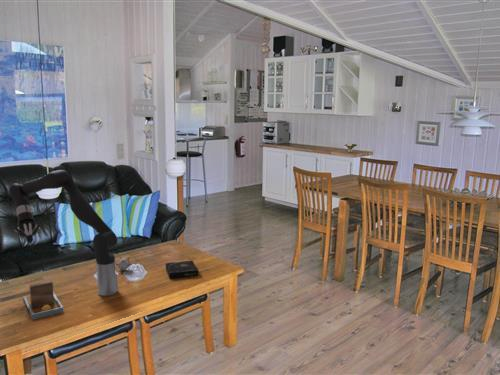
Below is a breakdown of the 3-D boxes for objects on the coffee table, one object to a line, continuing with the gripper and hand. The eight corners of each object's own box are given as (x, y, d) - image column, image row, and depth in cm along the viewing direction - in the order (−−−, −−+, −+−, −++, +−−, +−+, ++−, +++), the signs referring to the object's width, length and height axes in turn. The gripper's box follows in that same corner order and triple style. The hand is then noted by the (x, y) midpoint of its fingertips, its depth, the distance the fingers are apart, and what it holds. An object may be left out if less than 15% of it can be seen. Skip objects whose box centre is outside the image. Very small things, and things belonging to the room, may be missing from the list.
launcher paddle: (31, 305, 219) (29, 284, 217) (52, 300, 225) (51, 280, 222) (32, 308, 217) (30, 286, 214) (54, 302, 222) (52, 282, 220)
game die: (125, 277, 264) (121, 269, 257) (115, 270, 268) (111, 261, 260) (136, 267, 269) (132, 258, 261) (126, 260, 272) (123, 251, 265)
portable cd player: (192, 266, 275) (192, 260, 274) (197, 276, 259) (197, 270, 258) (165, 269, 269) (165, 262, 269) (169, 279, 254) (169, 273, 253)
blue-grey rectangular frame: (28, 310, 215) (28, 305, 214) (58, 303, 222) (58, 298, 222) (32, 319, 206) (32, 314, 205) (63, 312, 213) (63, 307, 213)
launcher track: (23, 299, 227) (23, 296, 226) (52, 292, 234) (52, 290, 234) (28, 311, 214) (28, 308, 213) (59, 304, 221) (59, 301, 221)
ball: (52, 309, 215) (53, 305, 212) (47, 316, 212) (47, 312, 209) (45, 305, 215) (45, 301, 212) (39, 312, 212) (40, 308, 209)
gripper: (11, 213, 236) (16, 241, 228) (38, 209, 243) (44, 236, 236) (11, 220, 241) (16, 248, 234) (37, 216, 248) (43, 243, 241)
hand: (30, 242), depth 235 cm, fingers closed
